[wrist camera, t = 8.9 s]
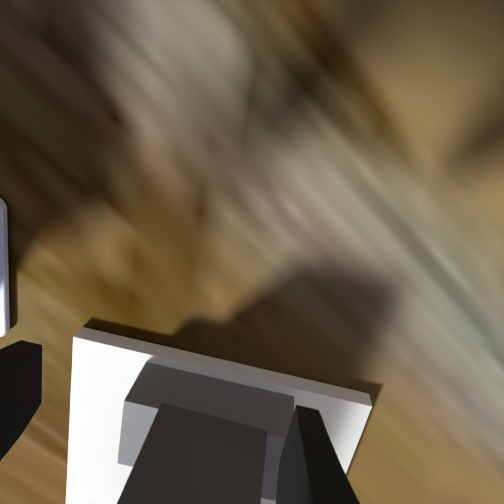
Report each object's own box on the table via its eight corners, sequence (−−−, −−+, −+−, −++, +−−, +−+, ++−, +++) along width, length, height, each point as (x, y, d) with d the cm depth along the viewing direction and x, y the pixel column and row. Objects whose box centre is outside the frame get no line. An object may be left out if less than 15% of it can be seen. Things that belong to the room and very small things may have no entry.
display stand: (72, 512, 29) (38, 575, 25) (82, 326, 23) (40, 372, 19) (302, 568, 28) (302, 641, 24) (369, 393, 23) (382, 453, 19)
